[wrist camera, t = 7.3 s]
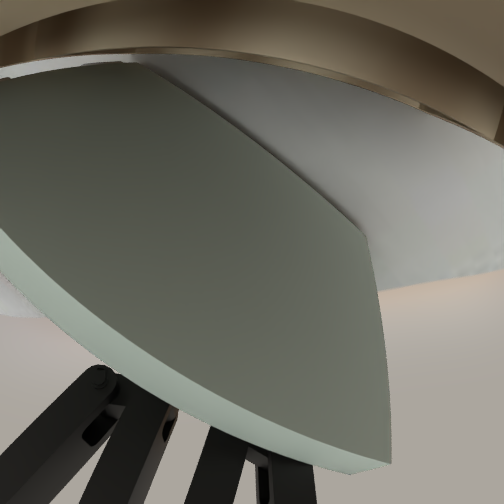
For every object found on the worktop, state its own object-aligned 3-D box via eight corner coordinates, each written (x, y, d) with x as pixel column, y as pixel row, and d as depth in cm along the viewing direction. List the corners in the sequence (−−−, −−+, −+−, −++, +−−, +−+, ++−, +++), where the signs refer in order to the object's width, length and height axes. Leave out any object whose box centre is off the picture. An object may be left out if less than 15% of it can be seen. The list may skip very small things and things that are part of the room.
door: (104, 96, 15) (-86, 175, 4) (125, 55, 13) (-87, 100, 3) (330, 266, 19) (315, 480, 8) (365, 236, 17) (391, 464, 6)
